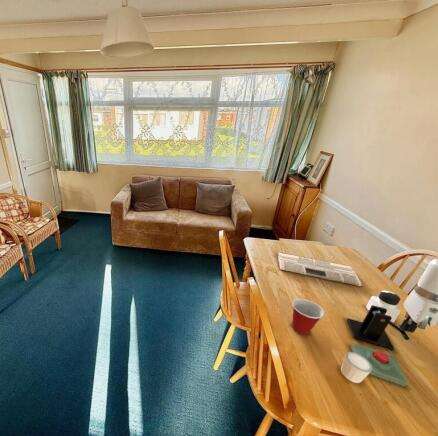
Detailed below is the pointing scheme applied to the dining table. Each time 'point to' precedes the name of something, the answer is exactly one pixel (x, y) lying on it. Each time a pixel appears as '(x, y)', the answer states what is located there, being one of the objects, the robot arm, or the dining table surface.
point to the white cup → (355, 367)
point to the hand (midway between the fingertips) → (406, 329)
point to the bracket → (372, 328)
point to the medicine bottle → (386, 303)
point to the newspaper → (318, 269)
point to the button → (381, 357)
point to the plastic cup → (305, 315)
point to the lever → (395, 326)
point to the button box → (382, 365)
